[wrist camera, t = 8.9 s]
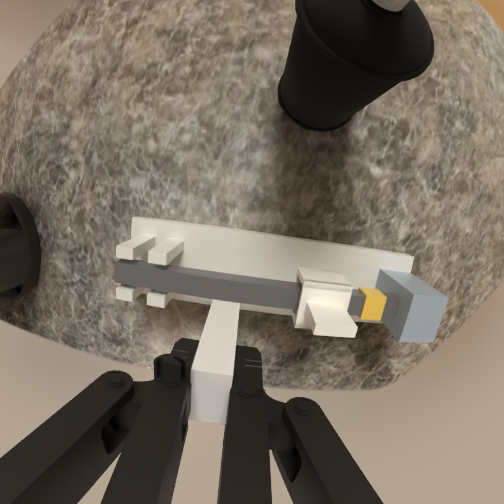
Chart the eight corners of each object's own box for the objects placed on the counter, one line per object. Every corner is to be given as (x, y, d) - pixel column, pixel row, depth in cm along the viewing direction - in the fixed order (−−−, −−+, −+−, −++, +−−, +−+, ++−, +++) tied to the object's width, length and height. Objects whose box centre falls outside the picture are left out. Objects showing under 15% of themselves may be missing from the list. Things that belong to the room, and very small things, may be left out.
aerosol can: (342, 144, 27) (471, 90, 8) (266, 114, 27) (279, -8, 7) (364, 79, 25) (473, -16, 6) (292, 50, 25) (328, -89, 5)
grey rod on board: (134, 287, 31) (96, 321, 22) (136, 216, 29) (93, 229, 20) (391, 319, 31) (426, 358, 22) (409, 254, 29) (453, 278, 21)
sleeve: (290, 308, 27) (301, 354, 19) (297, 266, 26) (313, 300, 18) (331, 312, 27) (354, 357, 19) (340, 272, 26) (370, 306, 18)
